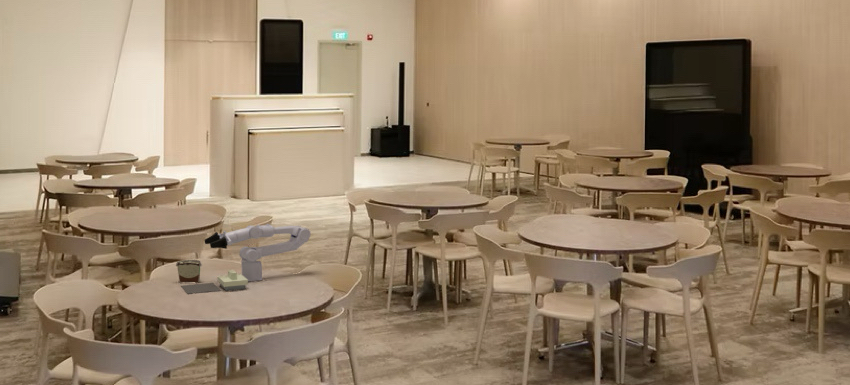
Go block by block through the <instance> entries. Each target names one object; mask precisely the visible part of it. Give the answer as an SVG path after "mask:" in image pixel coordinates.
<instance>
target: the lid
mask: <svg viewBox="0 0 850 385" xmlns="http://www.w3.org/2000/svg"><path fill="white" fill-rule="evenodd" d="M216 278H217V279H216V280H217V282H219V283H221V284H222V285H223V286H224V287H229V286H239V285H245V286H249V281H248V279H246V278H245V277H244V276H243V275H242V273H238V272H236V271H235V270H234V269H228V270H227V274H224V275H217V276H216Z"/></svg>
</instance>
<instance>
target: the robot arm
mask: <svg viewBox="0 0 850 385" xmlns="http://www.w3.org/2000/svg"><path fill="white" fill-rule="evenodd" d="M280 234H281V235H283V234H284V235H285V234H289V235H290V237H289V240H287V241H283V242H277V243H273V244H266V245H262V246H251V247H249V246H243V247H241V248H240V250H239V251H238V252H239V253H238V254H239V257H240V258H241V262H240V263H241V266H240V267H241V275H243V276H244V277H245V278H246V279H248V282H257V281H263V266H262V261H260V260H261V259H262V258H263V257H264V258H265V257H268V256H273V255H279V254H284V253H287V252H292V251H296V250H298V249H299V248H300V247H301V246H302V245H304V244H305V243H308V242H309V240H310V237H311V231H310V229H308V228H307V227H303V226H300V225H283V226H273V225H272V224H270V223H266V224H263V225H260V224H256V226H255V225H250V224H249V225H247V226H246V227H245V228H239V229H236V230H235V229H234V230H232V231H228V232H226V230H223V231H222V233H218V231H215V232H214V233H213V234H211V235H210V236H209V237H207V238H204V244H205V245H209V246H210V249H218V248H219V249H225V250H227V249H228V246H232V245H233V244H236V243H239V242H240V243H241V242H245V241H247V240H250V239H253V240H254V239H255V240H257V239H259V238H272V237H273V236H274V235H280Z"/></svg>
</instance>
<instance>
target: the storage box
mask: <svg viewBox="0 0 850 385" xmlns="http://www.w3.org/2000/svg"><path fill="white" fill-rule="evenodd" d="M220 287H221V288H222V289H223V290H225V291H226V292H229V291H231V292H232V291H241V290H242V291H243V290H246V285H239V286H229V287H224V286H223V285H222V284H221V283H220Z"/></svg>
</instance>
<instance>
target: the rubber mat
mask: <svg viewBox="0 0 850 385" xmlns="http://www.w3.org/2000/svg"><path fill="white" fill-rule="evenodd" d="M180 287H181V288H182V290H185V291H184V292H185V293H186V294H187V295H192V293H195V294H201V293H202V294H203V293H213V292H214V293H215V292H221V291H222V289H220V288H219V287H218V286H217V284H215V283H214V282H207V283H192V284H183V285H180Z"/></svg>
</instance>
